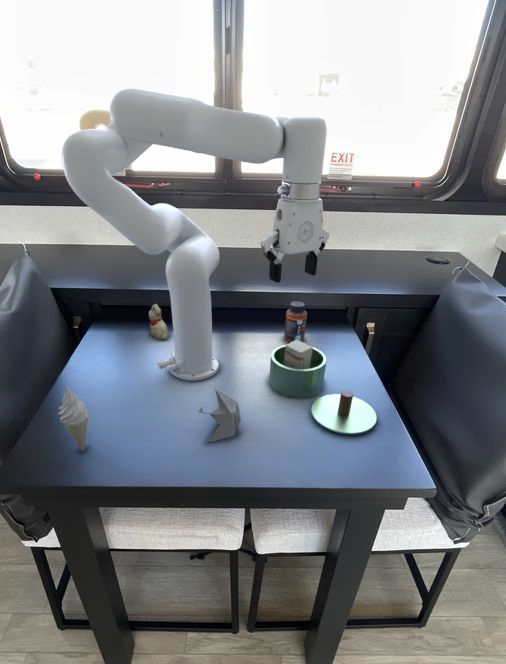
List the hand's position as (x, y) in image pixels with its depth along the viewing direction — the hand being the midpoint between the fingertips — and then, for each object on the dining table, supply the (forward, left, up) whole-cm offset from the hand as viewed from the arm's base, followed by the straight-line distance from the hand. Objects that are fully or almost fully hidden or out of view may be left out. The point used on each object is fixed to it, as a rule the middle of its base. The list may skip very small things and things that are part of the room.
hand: (292, 277), depth 91 cm
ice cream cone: (-50, -1, -26) cm, 57 cm away
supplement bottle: (+16, +16, -26) cm, 35 cm away
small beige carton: (+1, -3, -26) cm, 26 cm away
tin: (+2, -3, -26) cm, 27 cm away
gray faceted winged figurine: (-23, -8, -26) cm, 36 cm away
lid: (+2, -19, -26) cm, 32 cm away
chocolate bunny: (-17, +39, -26) cm, 50 cm away
